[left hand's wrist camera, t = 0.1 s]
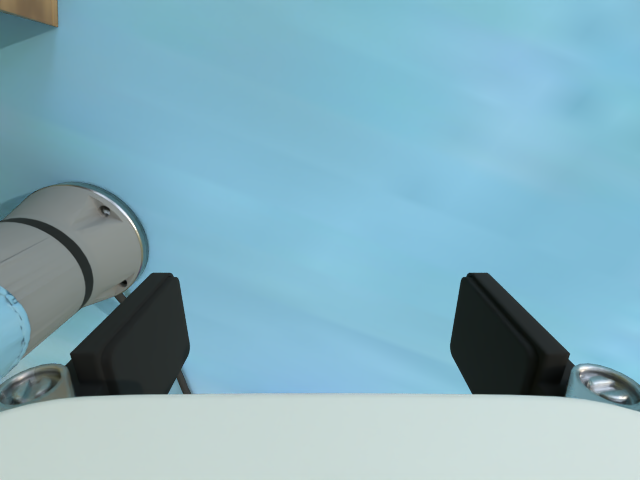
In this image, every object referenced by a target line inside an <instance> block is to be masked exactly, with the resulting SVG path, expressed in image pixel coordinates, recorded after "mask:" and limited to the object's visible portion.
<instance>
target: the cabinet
mask: <svg viewBox="0 0 640 480" xmlns="http://www.w3.org/2000/svg"><path fill="white" fill-rule="evenodd" d="M0 12H3V13H7V14H10V15H14V16H18V17H21V18H25V19H29V20H33V21H36V22H40V23H44V24H47V25H51V26H55V27H58V10H57V0H0Z"/></svg>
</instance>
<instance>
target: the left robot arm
mask: <svg viewBox="0 0 640 480" xmlns="http://www.w3.org/2000/svg"><path fill="white" fill-rule="evenodd" d="M189 350H190V343H189V337H188V331H187V325H186V319H185V313H184V307H183V301H182V295H181V289H180V283H179V279H178V278H177V277H174V276H173V274H172V273H152V274H150V275H149V276H148V277H147V278H146V279H145V280H144V281H143V282H142V283H141V284H140V285H139V286H138V287H137V288H136V289H135V290H134V291H133V292H132V293H131V294H130V295H129V296H128V297H127V298H126V299H125V300H124V301H123V302H122V303H121V304H120V305H119V306H118V307H117V308H116V309H115V310H114V311H113V312H112V313H111V314H110V315H109V316H108V317H107V318H106V319H105V320H104V321H103V322H102V323H101V324H100V325H99V326H98V327H97V328H95V329H94V330H93V331H92V332H91V333H90V334H89V335H88V336H87V337H86V338H85V339H84V340H83V341H82V342H81V343H80V344H79V345H78V346H77V347H76V348H75V349H74V350H73V351H72V352H71V353H70V355H71V360H70V361H69V362H68V363H67V364H66V365H65V366H64V365H61V364H52V363H51V364H44V365H39V366H36V367H32V368H29V369H27V370H25V371H22V372H20V373H18V374H16V375H14V376H13V377H11V378H9V379H8V380H6V381H5V382H4V383H2V384H1V385H0V480H640V385H639V384H638V383H636V382H635V381H634V380H632V379H631V378H629V377H627V376H626V375H624V374H622V373H620V372H618V371H615V370H613V369H611V368H608V367H604V366H601V365H596V364H589V363H588V364H579V365H576V366H575V365H574V364H573V363H572V362H571V361H570V360H569V359H568V358H569V355H570V353H569V352H568V351H567V350H566V349H565V348H564V347H563V346H562V345H561V344H560V343H559V342H558V341H557V340H556V339H555V338H554V337H553V336H552V335H551V334H550V333H549V332H548V331H547V330H546V329H545V328H543V327H542V326H541V325H540V324H539V323H538V322H537V321H536V320H535V319H534V318H533V317H532V316H531V315H530V314H529V313H528V312H527V311H526V310H525V309H524V308H523V307H522V306H521V305H520V304H519V303H518V302H517V301H516V300H515V299H514V298H513V297H512V296H511V295H510V294H509V293H508V292H507V291H506V290H505V289H504V288H503V287H502V286H501V285H500V284H499V283H498V282H497V281H496V280H495V279H494V278H493V277H492V276H491V275H490V274H488V273H468V274H467V276H466V277H463V278H462V279H461V283H460V289H459V295H458V301H457V307H456V313H455V319H454V325H453V331H452V337H451V343H450V350H451V354H452V357H453V359H454V361H455V362H456V364H457V366H458V368H459V370H460V372H461V374H462V376H463V377H464V379H465V381H466V383H467V385H468V387H469V389H470V391H471V393H472V394H378V393H250V394H168V393H169V391H170V389H171V387H172V385H173V383H174V381H175V379H176V377H177V376H178V374H179V372H180V370H181V368H182V366H183V364H184V362H185V361H186V359H187V357H188V354H189Z"/></svg>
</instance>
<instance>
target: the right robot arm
mask: <svg viewBox="0 0 640 480" xmlns="http://www.w3.org/2000/svg"><path fill="white" fill-rule="evenodd" d="M147 259H148V242H147V238H146V234H145V231H144V229H143V227H142V225H141V223H140V221H139V219H138V218H137V217H136V215H135V214H134V213H133V211H132V210H131V209H130V208H129V207H128V206H127V205H126V204H125V203H124V202H123V201H122V200H120V199H119V198H118V197H116V196H115V195H113V194H112V193H110V192H108V191H106V190H104V189H102V188H100V187H97V186H94V185H91V184H86V183H80V182H64V183H59V184H55V185H52V186H48V187H45V188H42V189H39V190H37V191H35V192H34V193H32V194H31V195H29V196H28V197H27V198H26V199H25V200H24V201H23V202H22V203H21V204H20V205H18V206H17V207H16V208H15V209H14V210H13V211H12V212H11V213H10V214H9V215H7V216H6V217H5V218H4V219H3V220H2V221H0V379H2V378H3V377H4V376H5V375H7V374H8V373H9V372H10V371H11V370H12V369H13V368H14V367H15V366H16V365H17V364H18V363H19V361H20V360H21V359H22V358H24V357H25V356H26V355H27V354H28V353H29V352H31V351H32V350H33V349H34V348H35V347H36V346H38V345H39V344H40V343H41V342H42V341H43V340H45V339H46V338H47V337H48V336H49V335H51V334H52V333H53V332H54V331H55V330H56V329H58V328H59V327H60V326H61V325H62V324H63V323H65V322H66V321H67V320H68V319H69V318H70V317H72V316H73V315H74V314H75V313H76V312H77V311H79V310H80V309H81V308H82V307H85V306H88V305H91V304H94V303H97V302H100V301H102V300H105V299H108V298H111V297H115V298H116V299H117V300H118V301H119V302H120V304H121V303H122V302H123V301H124V300H125V299H126V297H125V296H124V295H123V293H122V292H124V291H125V290H126V289H128V288H129V287H130V286H131V285H132V284H133V283H134V282H135V281H136V280H137V279H138V278H139V277H140V276H141V274H142V273H143V271H144V269H145V267H146V264H147ZM176 378H177V380H178V382H179V385H180V387H181V390H182V392H183V394H191V393H190V391H189V388H188V386H187V383H186V381H185V378H184V376H183V374H182V372H181V370H180V372H179V374H178V376H177V377H176Z"/></svg>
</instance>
